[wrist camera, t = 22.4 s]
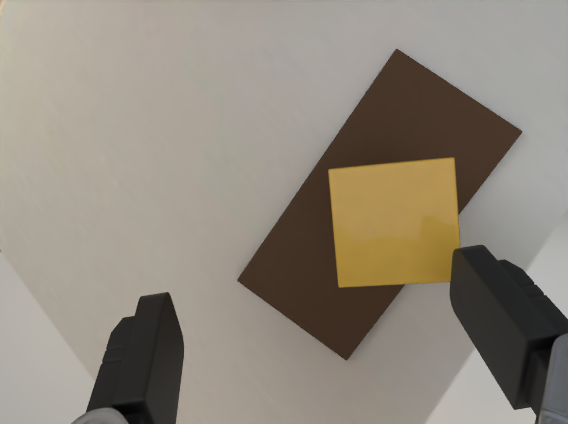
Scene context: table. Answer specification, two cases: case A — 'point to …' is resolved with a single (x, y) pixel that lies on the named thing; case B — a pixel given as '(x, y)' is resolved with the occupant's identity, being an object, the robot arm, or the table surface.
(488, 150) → the mat
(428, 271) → the block
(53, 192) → the table surface
